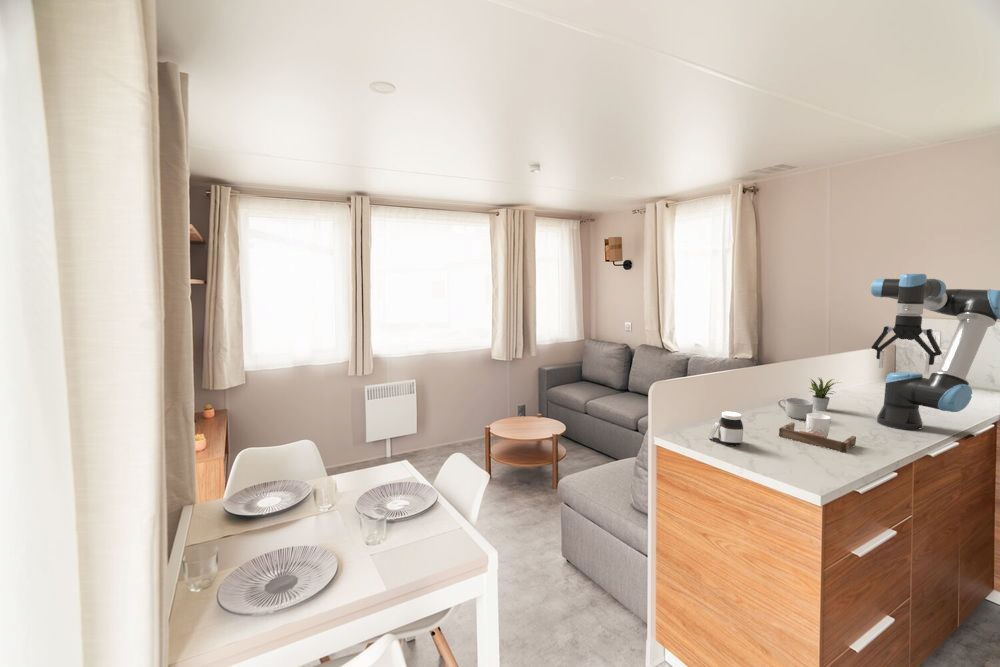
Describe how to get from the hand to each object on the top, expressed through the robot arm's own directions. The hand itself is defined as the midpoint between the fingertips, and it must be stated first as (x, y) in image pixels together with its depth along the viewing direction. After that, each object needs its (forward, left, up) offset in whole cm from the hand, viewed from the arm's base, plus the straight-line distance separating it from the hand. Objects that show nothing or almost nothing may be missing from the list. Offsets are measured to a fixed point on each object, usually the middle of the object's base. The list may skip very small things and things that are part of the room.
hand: (903, 370), depth 179 cm
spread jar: (+51, -42, -29) cm, 72 cm away
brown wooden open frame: (+21, -20, -29) cm, 41 cm away
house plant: (-31, -34, -29) cm, 54 cm away
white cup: (+21, -20, -29) cm, 41 cm away
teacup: (-7, -38, -29) cm, 48 cm away
